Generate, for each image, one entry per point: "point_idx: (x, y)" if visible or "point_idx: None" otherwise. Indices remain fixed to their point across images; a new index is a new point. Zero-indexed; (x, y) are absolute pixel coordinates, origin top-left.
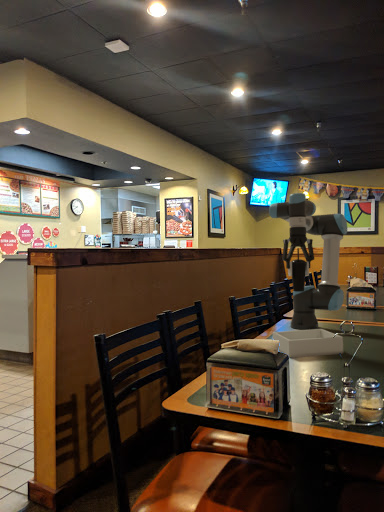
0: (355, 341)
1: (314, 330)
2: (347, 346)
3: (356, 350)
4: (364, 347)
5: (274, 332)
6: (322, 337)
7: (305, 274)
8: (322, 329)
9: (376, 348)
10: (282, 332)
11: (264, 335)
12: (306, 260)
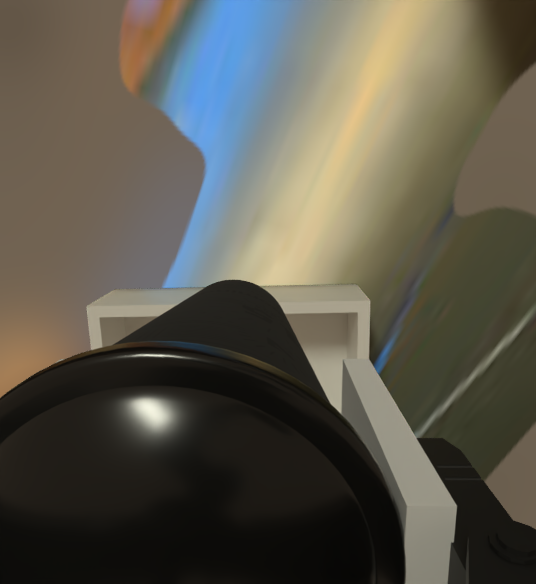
0: (533, 277)
1: (320, 311)
2: (438, 353)
3: (432, 420)
4: (495, 386)
5: (93, 318)
6: (351, 318)
7: (344, 388)
8: (366, 315)
9: (530, 412)
10: (138, 315)
11: (146, 5)
12: (464, 565)
